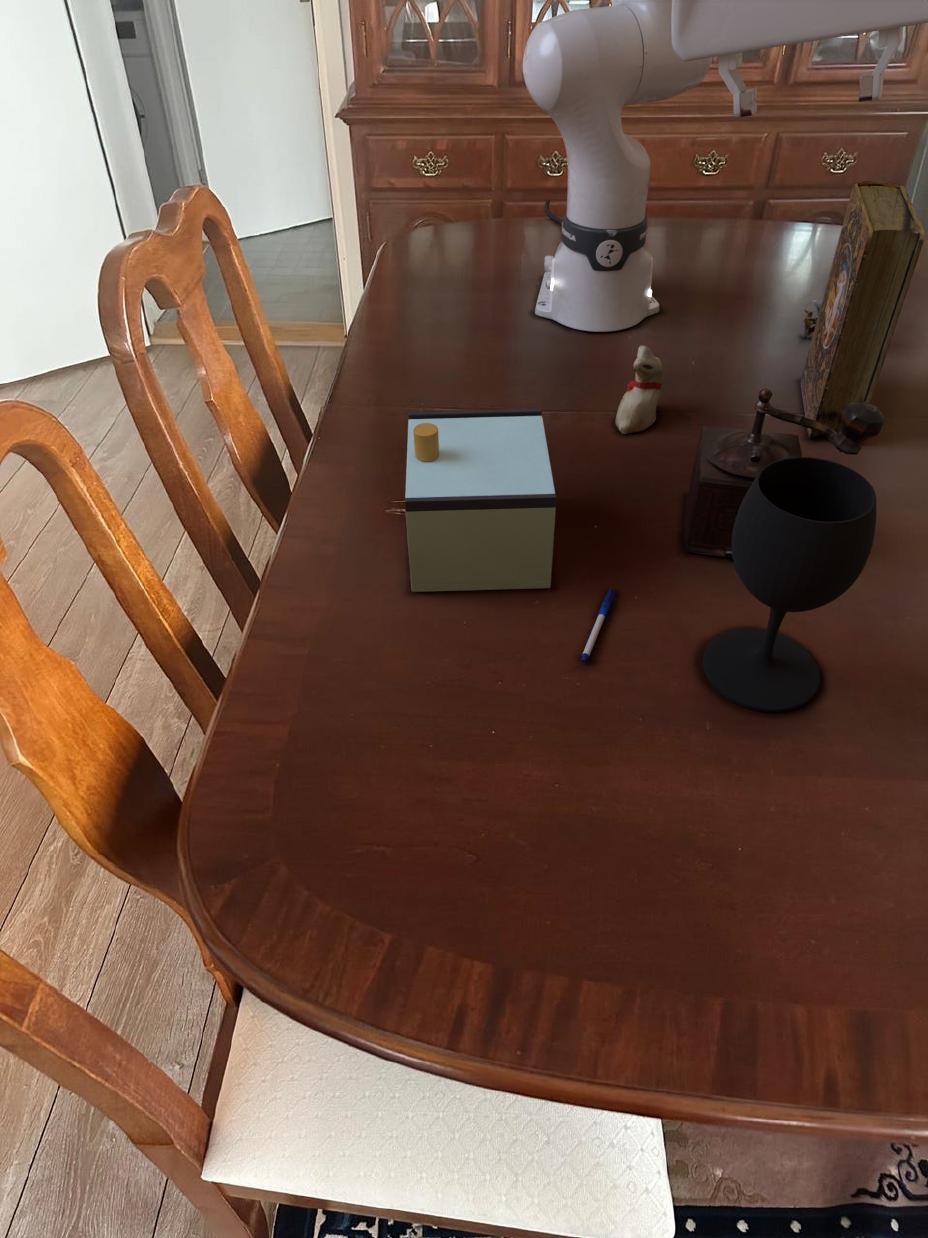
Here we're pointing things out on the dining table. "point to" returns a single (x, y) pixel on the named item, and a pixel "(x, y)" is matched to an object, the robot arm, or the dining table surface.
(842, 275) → the book
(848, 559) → the wine glass
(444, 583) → the case
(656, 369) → the chocolate bunny
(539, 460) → the light blue sliding lid
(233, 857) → the dining table surface
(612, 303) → the robot arm
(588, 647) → the ballpoint pen
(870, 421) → the vintage coffee grinder
